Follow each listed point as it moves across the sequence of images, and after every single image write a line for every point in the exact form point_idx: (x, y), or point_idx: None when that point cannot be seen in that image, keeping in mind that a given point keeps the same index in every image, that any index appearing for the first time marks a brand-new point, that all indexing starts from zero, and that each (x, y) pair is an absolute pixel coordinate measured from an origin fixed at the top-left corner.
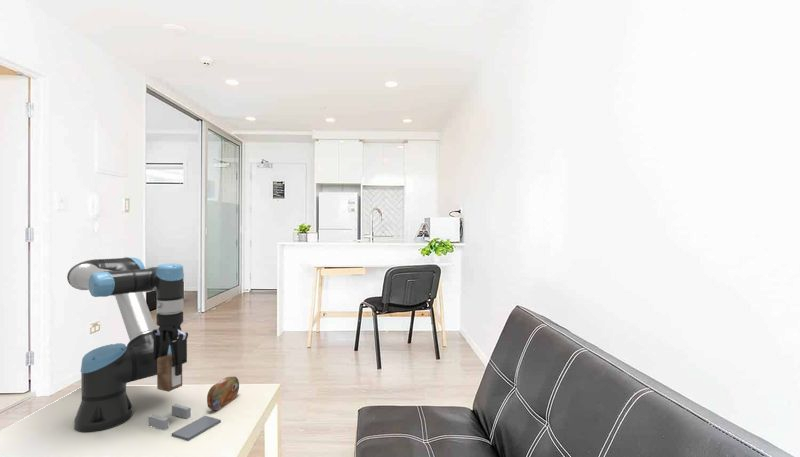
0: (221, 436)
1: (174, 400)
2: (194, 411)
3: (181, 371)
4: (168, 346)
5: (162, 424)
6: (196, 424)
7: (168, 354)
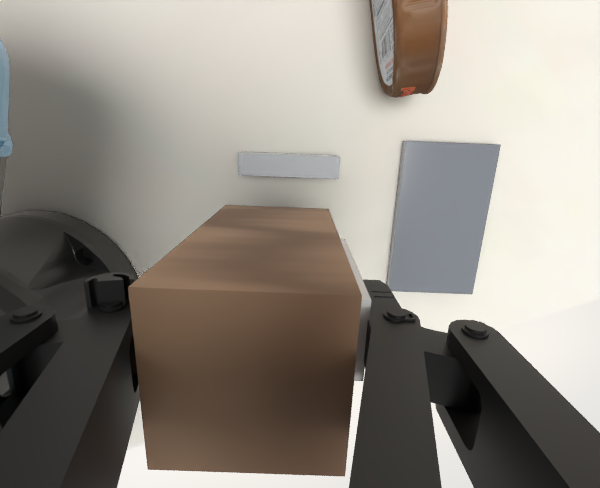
0: (565, 227)
1: (122, 57)
2: (311, 110)
3: (392, 293)
4: (79, 452)
5: None
6: (428, 212)
7: (138, 337)
